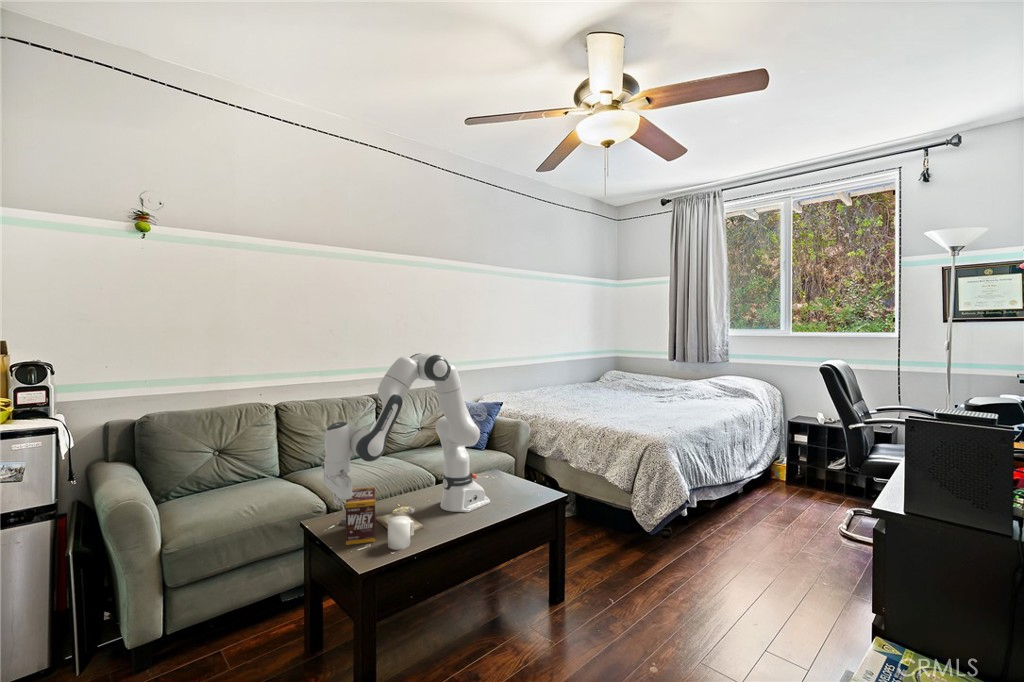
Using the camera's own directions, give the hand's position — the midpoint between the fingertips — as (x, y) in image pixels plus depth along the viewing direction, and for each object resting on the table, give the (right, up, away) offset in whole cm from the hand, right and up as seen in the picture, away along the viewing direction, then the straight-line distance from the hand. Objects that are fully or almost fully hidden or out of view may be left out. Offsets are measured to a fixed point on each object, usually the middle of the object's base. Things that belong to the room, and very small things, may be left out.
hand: (338, 504), depth 175 cm
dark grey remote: (-1, -13, +22) cm, 26 cm away
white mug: (+23, -14, -1) cm, 27 cm away
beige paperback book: (+19, -13, +16) cm, 28 cm away
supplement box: (+7, -14, +6) cm, 17 cm away
